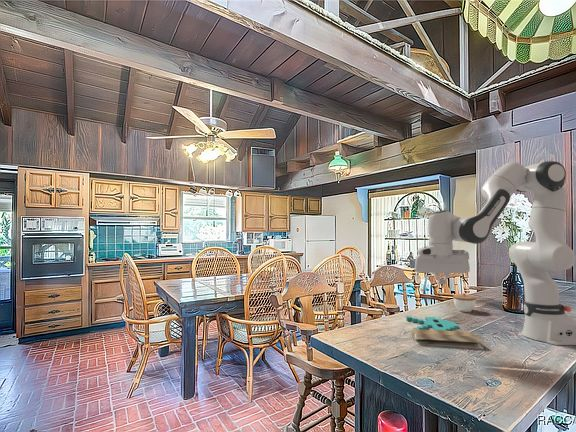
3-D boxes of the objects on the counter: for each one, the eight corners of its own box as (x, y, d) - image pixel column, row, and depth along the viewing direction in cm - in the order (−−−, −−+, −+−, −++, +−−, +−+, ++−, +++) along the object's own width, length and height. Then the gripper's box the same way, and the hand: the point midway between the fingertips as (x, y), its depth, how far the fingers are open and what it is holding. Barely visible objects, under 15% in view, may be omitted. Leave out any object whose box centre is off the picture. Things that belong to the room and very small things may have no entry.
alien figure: (414, 334, 137) (464, 336, 133) (414, 329, 137) (463, 331, 133) (406, 320, 157) (449, 322, 153) (406, 316, 157) (449, 317, 153)
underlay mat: (473, 338, 129) (473, 336, 129) (484, 350, 116) (484, 349, 116) (411, 334, 135) (411, 333, 135) (415, 346, 122) (415, 344, 122)
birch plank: (477, 343, 122) (476, 337, 123) (482, 342, 117) (481, 336, 118) (414, 339, 128) (414, 334, 129) (416, 338, 123) (416, 333, 124)
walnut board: (471, 337, 129) (471, 332, 129) (477, 342, 123) (476, 337, 123) (412, 333, 135) (412, 328, 135) (414, 338, 129) (414, 333, 129)
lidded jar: (469, 314, 163) (468, 296, 163) (449, 310, 172) (449, 292, 172) (480, 311, 168) (479, 293, 169) (461, 307, 178) (460, 290, 178)
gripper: (466, 249, 129) (467, 282, 128) (413, 249, 134) (414, 281, 134) (471, 250, 123) (472, 285, 122) (415, 250, 128) (416, 284, 127)
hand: (442, 283), depth 128 cm, fingers closed
